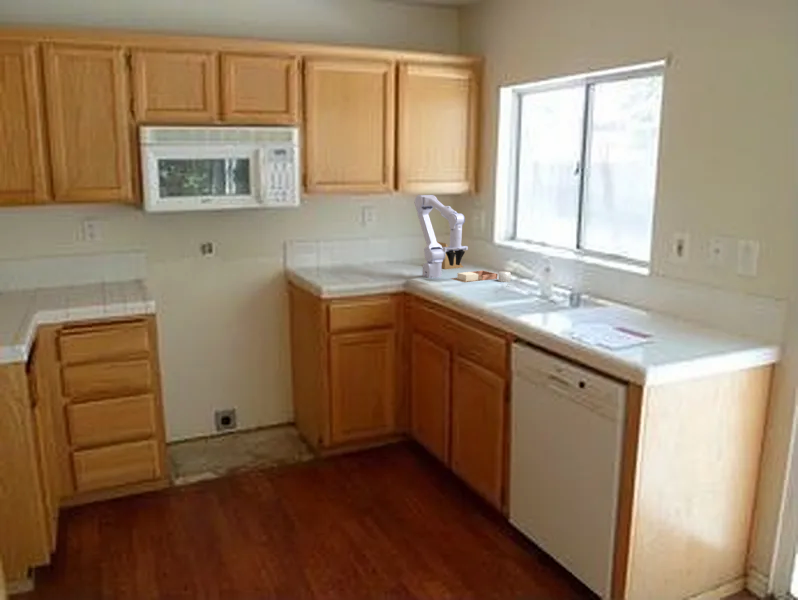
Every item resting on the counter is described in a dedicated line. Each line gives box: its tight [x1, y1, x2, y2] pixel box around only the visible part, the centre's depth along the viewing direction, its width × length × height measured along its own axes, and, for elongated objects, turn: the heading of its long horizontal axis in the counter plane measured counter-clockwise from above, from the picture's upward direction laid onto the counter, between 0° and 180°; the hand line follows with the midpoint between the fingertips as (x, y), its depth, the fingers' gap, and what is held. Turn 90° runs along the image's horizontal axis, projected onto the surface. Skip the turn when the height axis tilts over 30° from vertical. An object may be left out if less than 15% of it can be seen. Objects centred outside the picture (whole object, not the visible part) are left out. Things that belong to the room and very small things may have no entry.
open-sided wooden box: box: [449, 270, 499, 283], centre depth 347 cm, size 22×12×4 cm, turn 124°
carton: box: [456, 271, 478, 281], centre depth 344 cm, size 8×7×3 cm
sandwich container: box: [437, 241, 464, 270], centre depth 388 cm, size 9×15×15 cm, turn 130°
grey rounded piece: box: [497, 270, 511, 286], centre depth 342 cm, size 6×6×6 cm
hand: (454, 265), depth 338 cm, fingers open, 3 cm apart
